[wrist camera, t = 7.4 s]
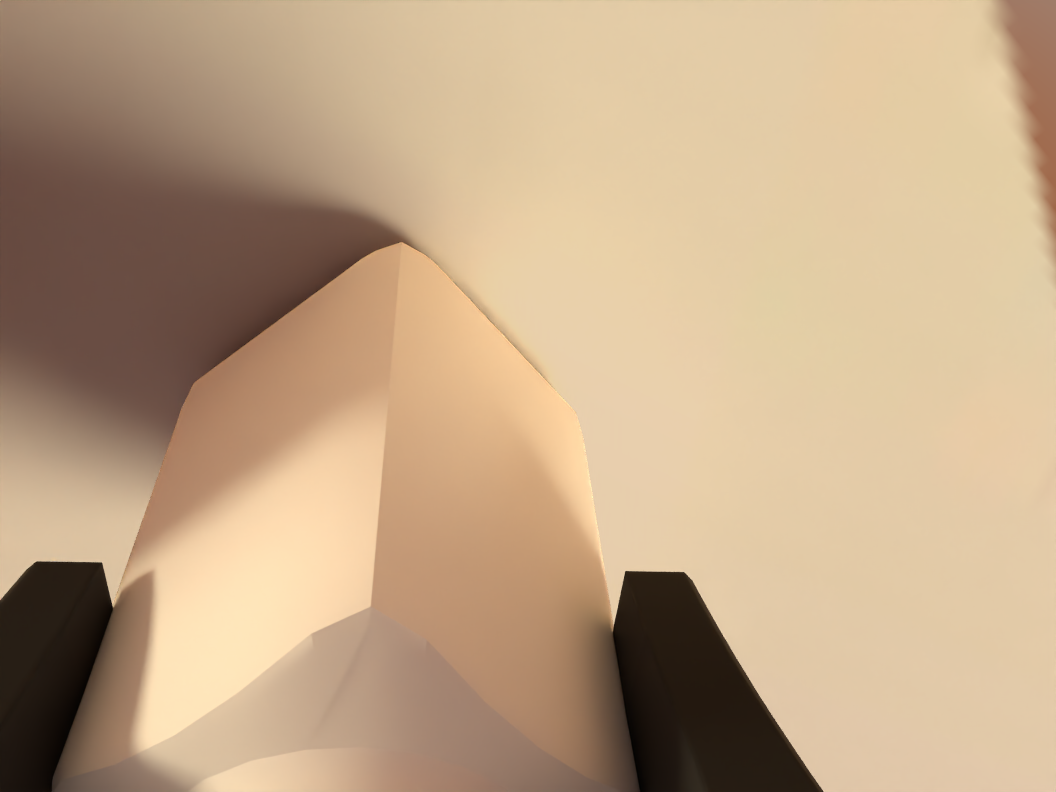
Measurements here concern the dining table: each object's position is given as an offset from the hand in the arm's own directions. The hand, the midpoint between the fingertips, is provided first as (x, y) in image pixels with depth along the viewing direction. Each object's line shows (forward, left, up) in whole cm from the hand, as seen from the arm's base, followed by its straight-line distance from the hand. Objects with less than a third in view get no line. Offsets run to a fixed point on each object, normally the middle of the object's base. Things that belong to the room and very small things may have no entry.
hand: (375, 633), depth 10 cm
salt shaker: (0, 0, -4) cm, 4 cm away
